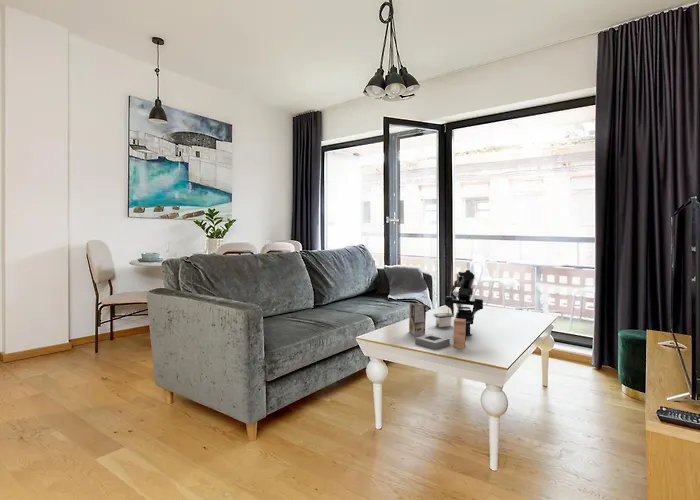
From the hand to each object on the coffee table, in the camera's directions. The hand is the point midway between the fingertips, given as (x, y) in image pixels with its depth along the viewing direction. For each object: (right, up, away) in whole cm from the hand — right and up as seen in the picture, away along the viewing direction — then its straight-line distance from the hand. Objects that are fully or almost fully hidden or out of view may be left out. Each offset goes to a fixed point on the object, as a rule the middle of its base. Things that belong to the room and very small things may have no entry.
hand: (462, 316), depth 200 cm
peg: (-3, -13, -6) cm, 15 cm away
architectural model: (-1, -12, +34) cm, 36 cm away
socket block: (-16, -13, -4) cm, 21 cm away
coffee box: (-20, -12, +16) cm, 28 cm away
